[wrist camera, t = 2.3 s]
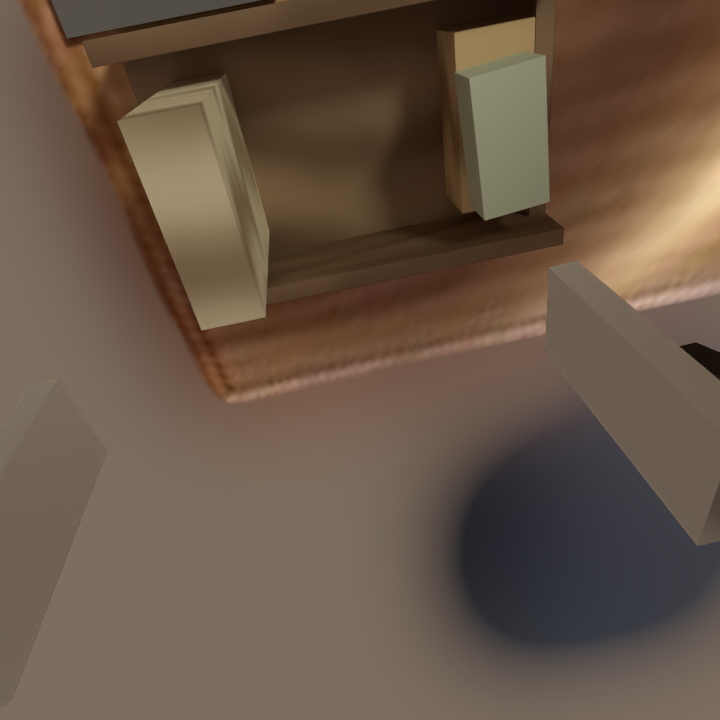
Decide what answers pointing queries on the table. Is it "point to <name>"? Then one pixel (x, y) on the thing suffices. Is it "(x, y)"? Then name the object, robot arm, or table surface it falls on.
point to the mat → (126, 12)
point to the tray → (343, 131)
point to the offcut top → (505, 133)
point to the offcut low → (462, 52)
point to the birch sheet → (203, 196)
